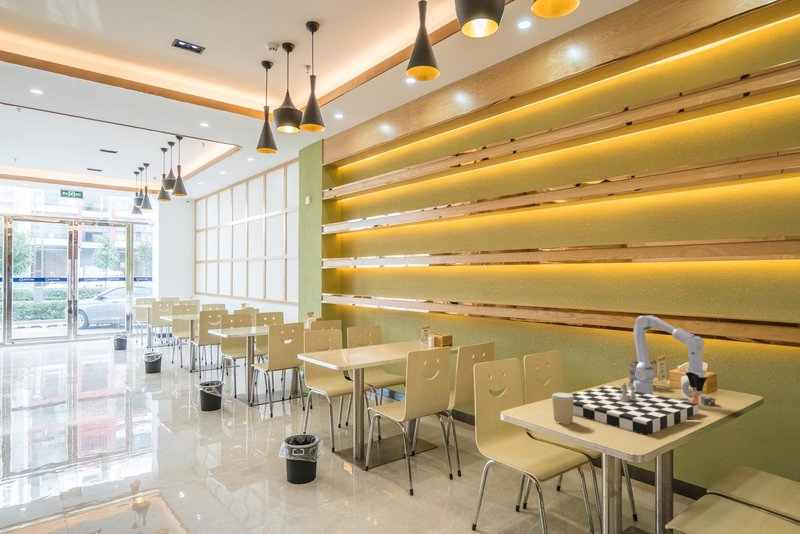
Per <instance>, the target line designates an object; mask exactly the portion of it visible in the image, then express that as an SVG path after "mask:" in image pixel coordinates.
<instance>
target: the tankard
mask: <svg viewBox="0 0 800 534" xmlns="http://www.w3.org/2000/svg"><path fill="white" fill-rule="evenodd" d="M649 362H650V363H651V364H652V365H653V364H655V365H656V364H657V363H658V362H657V361H656V360H655V359H651V360H649ZM637 364H638V360H633V361H632V360H630V362H629V366H628V371H629V373H628V379H629V380H628V382H627V387H629V388H630V386H633V381H637V380H638V379H637V378H636V376H635V372H636V366H637ZM654 379H655V378H653V380H654Z"/></svg>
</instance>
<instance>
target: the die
mask: <svg viewBox="0 0 800 534" xmlns="http://www.w3.org/2000/svg"><path fill="white" fill-rule="evenodd" d="M715 400H716V399H715V398H713V397H712V396H704V395H703V396H701V395H700V404H702V405H703V406H714V407H715V406H716V401H715Z"/></svg>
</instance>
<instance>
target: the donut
mask: <svg viewBox="0 0 800 534" xmlns="http://www.w3.org/2000/svg"><path fill="white" fill-rule="evenodd" d="M689 386H690V383H689V379H688V378H686V379H684V380H683V381H682V382H681V385H680V387H681V388H680V389H681V391H682V393H683V394H684V395H685V396H687V397H689V398H692V393H693V392H697V393H698V395H699V396H698V397H701V395H702V393H703V390H704V389H703V390H702V391H697V390H696V388H694V390H691V389H690V388H689Z"/></svg>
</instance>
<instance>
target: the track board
mask: <svg viewBox="0 0 800 534" xmlns="http://www.w3.org/2000/svg"><path fill="white" fill-rule="evenodd" d="M677 400H680V401H685V402H689V403H692V399H689V398H685V397H678V398H677ZM698 410H703V408H702V407H701V406H700V408H698Z"/></svg>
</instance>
